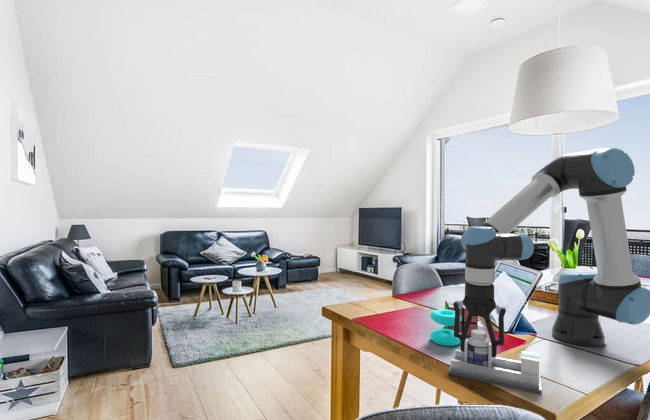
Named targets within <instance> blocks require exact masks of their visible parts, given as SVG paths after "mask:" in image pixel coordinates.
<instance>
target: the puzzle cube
mask: <svg viewBox="0 0 650 420" xmlns="http://www.w3.org/2000/svg"><path fill="white" fill-rule="evenodd" d="M455 301H456V300H445V302H444V303H445V305H444V306H445V307H444V309H447V310H452V311H455V309H454V306H453V303H454V302H455ZM468 314H469V312H468V310H467V309H466V307H465V306H464V305H462V309H461V317H462V320H461V322H460V333H462V332H463V329H464V326H465V323H466V320H467V317H468ZM478 323H479V316H473V318H472V321H471V324H470V327H469V330H468V333H467V336H466V338H467V337H469V338H471V330H479V324H478ZM444 327H445V328H444V329H450V330H453V331H454V325H452V326H447V325H444Z"/></svg>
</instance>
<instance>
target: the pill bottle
mask: <svg viewBox="0 0 650 420" xmlns="http://www.w3.org/2000/svg"><path fill="white" fill-rule="evenodd" d="M487 336H488V335H487V331H485V330H481V329H478V330H471V337H469V338H467V339H468V362H471V363H476V364H481V365H486V366H488V351H489V343H490V342H489V341H488V340H487V338H488V337H487Z"/></svg>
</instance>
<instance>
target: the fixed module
mask: <svg viewBox="0 0 650 420" xmlns="http://www.w3.org/2000/svg"><path fill="white" fill-rule="evenodd" d="M520 352H521V353H520V361H521V372H522V373H527V374H532V375H537V376H539V372H540V355H539V353H537V352H531V351H525V350H521V351H520Z"/></svg>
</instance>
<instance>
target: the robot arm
mask: <svg viewBox="0 0 650 420" xmlns="http://www.w3.org/2000/svg"><path fill="white" fill-rule="evenodd" d="M634 176H635V165H634V162H633V160H632V158H631V157H630V155H629V154H628V153H626V152H624V150H622V149H619V148H616V147H610V148H608V147H607V148H605V147H602V148H598V149H591V150H585V151H580V152H579V151H578V152H572V153H566V154H564V155H561V156H559V157H557V158H555V159H554V160H552V161H551V162H549V163H548V164H546V165H545V166H544V167H542V168H541V169H540V170H539V171H537V172H536V173H535V174H534V175H532V177H531V181H530V183H528V184H527V185H526V186H525V187H524V188H522V189H521V190H520V191H519V192H518V193H517V194H516V195H514V196H513V197H512V198H511V199H510V200H509V201H507V202H506V203H505V204H504V205H503V206H501V208H499V209H498V210H497V211H496V212H495V213H493V214H492V215H491V216H490V217H489V218H487V219H486V220H485V221H484V222H483V223H482V224H480V225H479V226H469V227H468V228H467V229H466V231H464V232H463V233H462V235H461V238H460V243H461V246H462V248H463V250H465V256H464V257H465V260H464V261H465V265H464V267H465V269H464V275H465V276H464V279H465V282H464V296H463V300H454V301H455V302H454V303H453V306H454V309H455V321H454V337H457V338H459V339H460V341H461V342H460V349H459V350H461V351H462V352H464V361H466V362H468V339H469V338H467V333H468V330H469V327H470V324H471V321H472V318H473V316H478V317H480V318H483V319H484V320H483V321H484V323H485V326H486V329H487V332H488V336H489V339H490V340H489V341H490V342H489V351H488V366H491V367H492V357H494V358H496V357H497V352H498V351H497V349H498V348H497V347H498V346H504V344H505V321H504V320H505V314H506V312H507V308H506V307H505V306H501V305H498V304H497V303H496V301H495V284H494V283H495V271H496V269H495V267H496V261H497V262H499V261H522V260H527V259H529V258H531V257H532V255H533V254H534V248H535V247H534V245H535V244H534V241H533V239H532V238H531V236H529V235H528V234H526V233H520V232H519V233H518V232H514V233H512V231H514V230H515V229H516V228H517V227H518V226H519V225H520V224H522V222H524V221H525V220H526V219H527V218H528V217H530V215H532V214H533V213H534V212H535V211H536V210H538V208H540V207H541V206H542V205H543V204H544V203H546V202H547V201H548V199H550V198H555V197H557V196H558V195H560V193H562V192H564V191H568V190H573V189H575V190H577V189H578V195H579V198H581V199H583V200H585V201H586V207H587V214H588V220H589V221H588V222H589V226H590V227H589V228H590V233H591V238H592V244H593V249H594V256H595V264H596V269H597V273H596V272H563V273H561V274H560V275H559V277H558V278H559V279H558V284H557V285H558V286H557V287H558V298H557V300H558V308H557V309H558V310H557V315H556V318H555V321H554V323H553V325H552V328H551V329H552V330H551V331H552V332H551V334H552V335H551V336H553V338H556V339H558V340H559V341H562V342H565V343H568V344H572V345H576V346H577V345H578V346H584V347H601V346H605V341H606V340H605V339H606V338H605V334H604V331H603V329H602V325H601V323H600V319H599V318H600V317H603V318H607V319H611V320H613V321H616V322H618V323H624V324H628V325H634V326H635V325H639V324H642V323H643V322H645V321H646V320H647V319H648V318H649V317H650V290H649V289H648V288H645V286H644V287H642V283H641V278H640V277H639V276H638V275H637V274H636V273H634V272H633V267H632V260H631V253H630V246H629V241H628V239H629V238H628V233H627V232H628V231H627V228H626V222H625V221H626V220H625V219H626V218H625V214H624V208H623V207H624V206H623V202H622V196H623V195H625V193H626V192H627V186H629V185H630V184H631V183H632V182H633V180H634ZM462 305H464V306H465V307H466V309H467V310H468V312H469V314H468V317H467V320H466V323H465V326H464V329H463V332H462V333H460V315H461V309H462ZM494 310H495V311H496V314H497V315H498V320H497V321H498V338H497V337H496V334H495V329H494V326H493V322H492V319H491V313H492V312H493V311H494ZM599 316H600V317H599Z"/></svg>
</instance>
